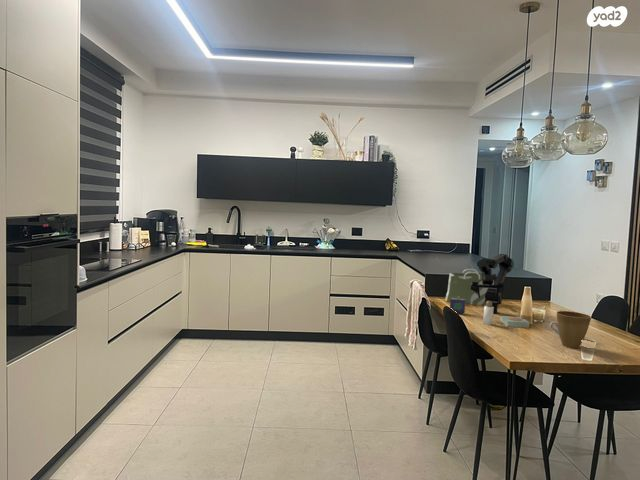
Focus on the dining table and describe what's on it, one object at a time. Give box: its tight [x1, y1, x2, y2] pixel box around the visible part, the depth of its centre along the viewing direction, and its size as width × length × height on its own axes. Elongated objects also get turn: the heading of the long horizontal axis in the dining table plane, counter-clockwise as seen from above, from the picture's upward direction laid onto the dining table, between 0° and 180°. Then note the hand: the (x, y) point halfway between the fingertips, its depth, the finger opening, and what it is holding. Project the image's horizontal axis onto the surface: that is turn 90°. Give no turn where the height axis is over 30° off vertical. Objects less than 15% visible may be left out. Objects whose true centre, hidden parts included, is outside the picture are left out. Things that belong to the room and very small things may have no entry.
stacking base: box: [499, 315, 531, 329], centre depth 263 cm, size 12×12×3 cm
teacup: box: [549, 321, 560, 337], centre depth 241 cm, size 14×11×8 cm
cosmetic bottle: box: [482, 301, 494, 326], centre depth 261 cm, size 5×5×13 cm
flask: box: [449, 296, 466, 315], centre depth 283 cm, size 9×3×11 cm, turn 88°
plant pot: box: [556, 310, 592, 349], centre depth 225 cm, size 15×15×16 cm
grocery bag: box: [444, 268, 495, 306], centre depth 317 cm, size 32×14×23 cm, turn 78°
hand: (487, 298), depth 268 cm, fingers open, 9 cm apart
